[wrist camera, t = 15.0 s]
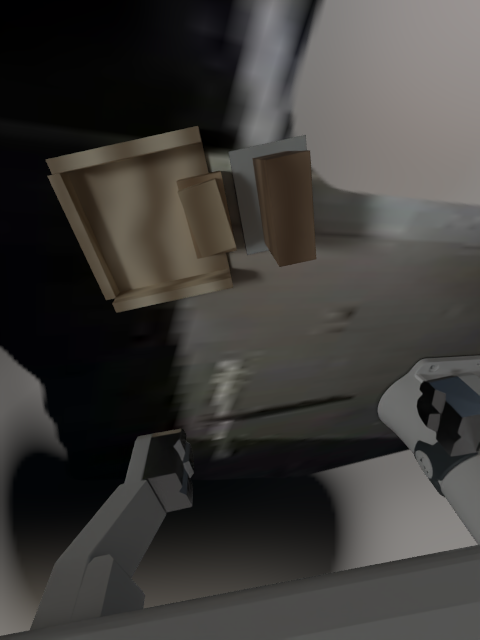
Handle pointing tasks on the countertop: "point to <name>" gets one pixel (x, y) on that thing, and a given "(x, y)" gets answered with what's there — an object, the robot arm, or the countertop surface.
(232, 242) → the offcut upper
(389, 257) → the countertop surface
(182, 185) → the offcut lower
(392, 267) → the countertop surface
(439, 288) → the countertop surface
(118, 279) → the tray
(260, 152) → the mat
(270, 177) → the dark brown wood block
